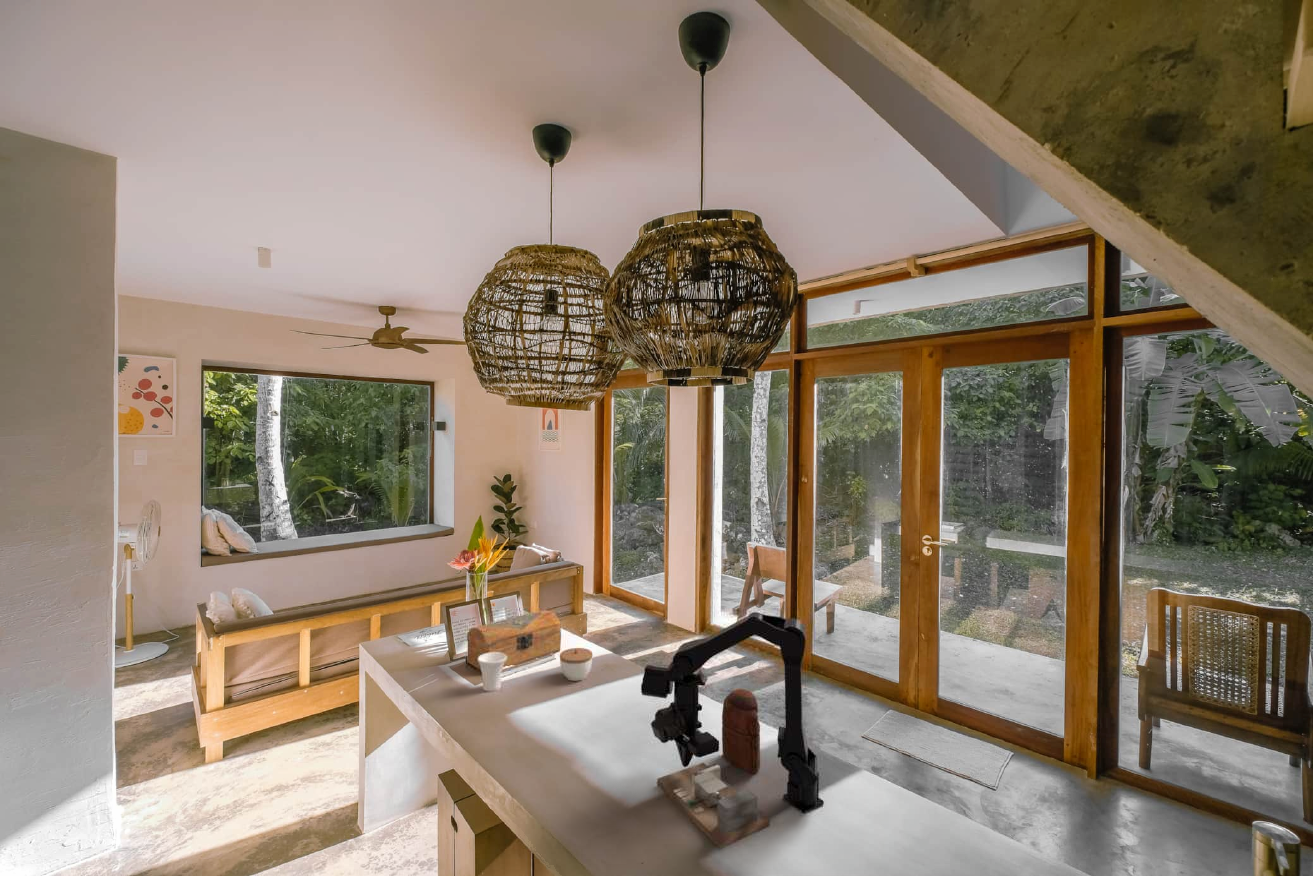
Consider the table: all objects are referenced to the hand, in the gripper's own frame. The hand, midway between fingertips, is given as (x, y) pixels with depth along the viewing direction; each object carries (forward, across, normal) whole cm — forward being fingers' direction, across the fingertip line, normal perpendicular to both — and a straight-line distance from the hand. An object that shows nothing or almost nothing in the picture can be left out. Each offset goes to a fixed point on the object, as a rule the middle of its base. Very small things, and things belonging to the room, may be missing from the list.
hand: (685, 766), depth 139 cm
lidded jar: (+5, -67, +2) cm, 67 cm away
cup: (+5, -73, -24) cm, 77 cm away
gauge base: (+4, +10, 0) cm, 10 cm away
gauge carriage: (+2, +12, -1) cm, 12 cm away
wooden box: (+5, -94, -10) cm, 94 cm away
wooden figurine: (+4, 0, +17) cm, 17 cm away
